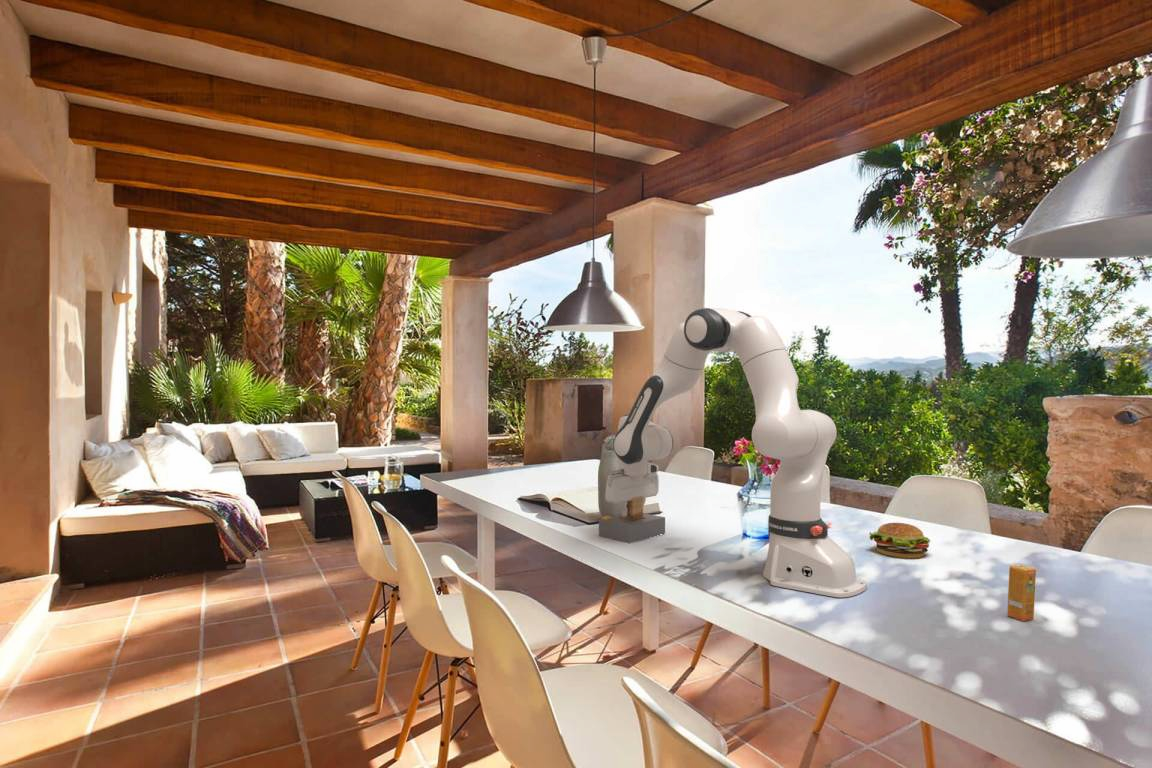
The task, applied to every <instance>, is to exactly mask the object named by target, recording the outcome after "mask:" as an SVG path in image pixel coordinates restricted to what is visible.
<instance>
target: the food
mask: <svg viewBox="0 0 1152 768" xmlns="http://www.w3.org/2000/svg"><path fill="white" fill-rule="evenodd" d="M869 539H870V540H871V541H874V542H875V543H876V544H875V545H876V546H875V547H876V548H875V549H876V551H877V553H880V554H881V555H884V556H887V555H888V556H887V557H892V558H900V559H918V558H922V557H924V556H925V554H926V552H928V549H929V547H930V543H931V540H930V538H928V537H926V536H925V535H924V533H923V531H922V530H921V529H920V528H919V527H917V526H916V525H913V524H909V523H904V522H888V523H884V524H882V525H880V526H879V527H878V530H876V531H874V532H873V533H871V531H870V532H869Z"/></svg>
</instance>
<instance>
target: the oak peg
mask: <svg viewBox="0 0 1152 768" xmlns="http://www.w3.org/2000/svg"><path fill="white" fill-rule="evenodd" d="M626 507H627V509H628V510H630V513H629V514H630V515H629V516H626V517H625V516H622V519H625V520H630V521H636V520H641V519H643V513H644V506H643V496H641V497H636V498H632V500H631V501H627V505H626Z"/></svg>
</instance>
